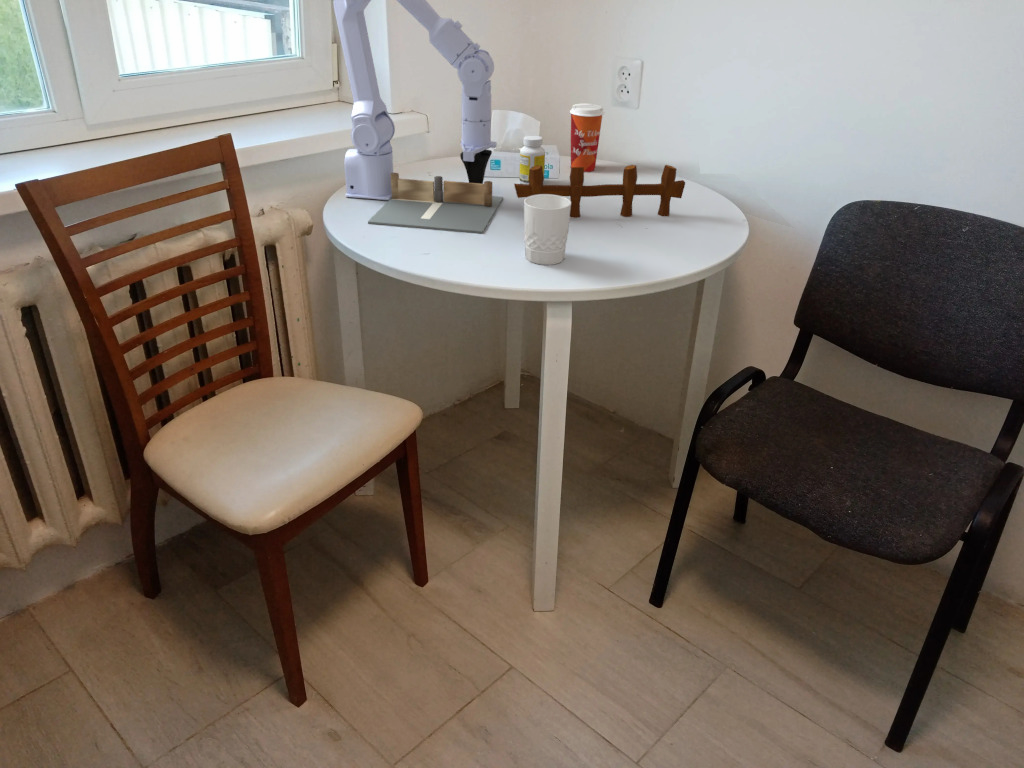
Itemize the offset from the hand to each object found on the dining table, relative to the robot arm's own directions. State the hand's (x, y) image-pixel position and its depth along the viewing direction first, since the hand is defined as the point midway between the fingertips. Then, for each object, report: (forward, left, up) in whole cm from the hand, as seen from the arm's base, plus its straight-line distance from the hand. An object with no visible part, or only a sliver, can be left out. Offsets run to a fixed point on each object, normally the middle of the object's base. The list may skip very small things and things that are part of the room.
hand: (476, 188), depth 160 cm
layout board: (-6, -7, -3) cm, 10 cm away
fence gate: (-1, -3, -2) cm, 4 cm away
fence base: (-12, -3, -2) cm, 12 cm away
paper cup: (+19, +30, -3) cm, 36 cm away
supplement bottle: (+9, +16, -3) cm, 19 cm away
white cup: (+18, -26, -3) cm, 32 cm away
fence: (+25, -2, -3) cm, 25 cm away
